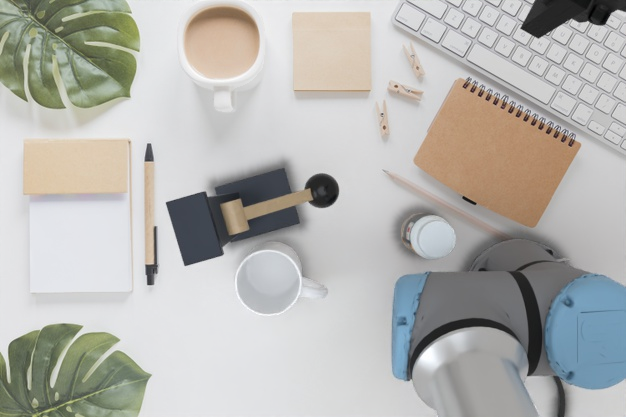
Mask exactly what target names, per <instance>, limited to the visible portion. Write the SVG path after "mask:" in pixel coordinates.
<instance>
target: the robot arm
mask: <svg viewBox="0 0 626 417" xmlns="http://www.w3.org/2000/svg"><path fill="white" fill-rule="evenodd" d="M616 11H620V12H624V13H626V0H534V2H533V4H532V6H531V8H530V9H529V11H528V13H527V15H526V16H525V19H524V20H523V23H522V24H521V26H520V28H519V29H520V30H522V31H524V32H526V33H527V34H529V35H531V36H532V37H534V38H536V39H538V40H539V39H541V38H542V37H544V36H545V35H547V34H549V33H551V32H552V31H554V30H556V29H557V28H559V27H560V26H562V25H563V24H565V23H567V22H568V21H570V20H573V21H575V22H577V23H578V24H582V23H587V22H588V23H590V24H591V25H594V26H599V27H601V26H606V24H607V23H608V21H609V19H610V17H611V15H612V14H613V13H615V12H616ZM570 260H572V258H568V257H562V256H561V254H559V253H558V252H557V251H555V250H554V249H552V248H551V247H549V246H547V245H545V244H544V243H540V242H538V241H535V240H530V239H525V238H512V239H506V240H502V241H499V242H497V243H494V244H492V245H490V246H489V247H488V248H486V249H484V250H483V251H482V252H481V253H480V254H479V255H478V256H477V257H476V258H475V259H474V261H473V263H472V264H471V265H470V267H469V270H468V271H431V270H427V271H424V272H420V273H407V274H403V275H402V276H400V277H399V278H398V279H397V280H396V282H395V285H394V287H393V296H392V308H391V309H392V310H391V311H392V312H391V313H392V314H391V339H390V340H391V342H390V343H391V344H390V345H391V346H390V347H391V349H390V350H391V351H390V354H391V356H390V358H391V373H392V375H393V377H394V378H395V379H397V380H402V381H403V382H410V381H412V385H413V388H414V391H415V393H416V396H417V397H418V398H419V399H420V400H421V402H423V403H424V404H425V405H426V406H427V407H429V408H430V409H433V410H435V411H436V415H437V417H541V416H540V414H539V412H538V410H537V407H536V406H535V404H534V401H533V400H532V398H531V396H530V393H529V391H528V389H527V387H526V386H525V384H524V383H525V381H526V380H527V377H551V376H552V378H553V379H554V382H555V384H556V387H557V391H558V396H559V397H558V398H559V407H558V408H559V409H558V417H565V416H566V415H565V414H566V394H565V388H564V385H563V382H565V383H566V384H568V385H570V386H572V385H573V386H574V387H577V388H579V389H584V390H590V391H591V390H592V391H595V390H596V391H597V390H604V389H609V388H612V387H614V386H617V385H618V384H621V383H622V382H623V381H625V380H626V286H625V285H623V284H622V283H620V282H618V281H616V280H615V279H613V278H611V277H610V276H607V275H605V274H600V273H594V272H590V271H587V270H583V269H581V268H577V267H574V266H570V265H569V264H568V263H567V261H570ZM562 381H563V382H562Z"/></svg>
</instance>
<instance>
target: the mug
mask: <svg viewBox="0 0 626 417" xmlns="http://www.w3.org/2000/svg"><path fill="white" fill-rule="evenodd" d="M236 269H237V270H236V272H235V276H234V290H235V293H236V296H237V298H238V300H239V302H240V303H241V304H242V305H243V306H244V308H245V309H247V310H248V311H249V312H251V313H253V314H256V315H259V316H261V317H262V316H263V317H274V316H275V317H276V316H278V315H281V314H283V313H285V312H287V311H289V310H290V309H291V308H292V307H293V306H294V305H295V304H296V302H298V300H299V298H300V297H302V298H306V299H311V300H321V299H325V298H326V297H327V296H328V293H329V291H328V288H327V287H326V286H325V285H324V284H322V283H320V282H318V281H316V280H314V279H311V278H308V277H305V276H303V266H302V262H301V259H300V257H299V255H298V254H297V252H296V251H295V250H294V249H293V248H292V247H291V246H290V245H288V244H286V243H283V242H280V241H274V240H273V241H271V240H270V241H264V242H261V243H259V244H257V245H255V246H254V247H253V248H252V249H251V250H250V251H249V252H248V253H247V255H246V256H245V257H244V259H243V260H242V261H241V262H240V264H239V265H238V267H237V268H236Z"/></svg>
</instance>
